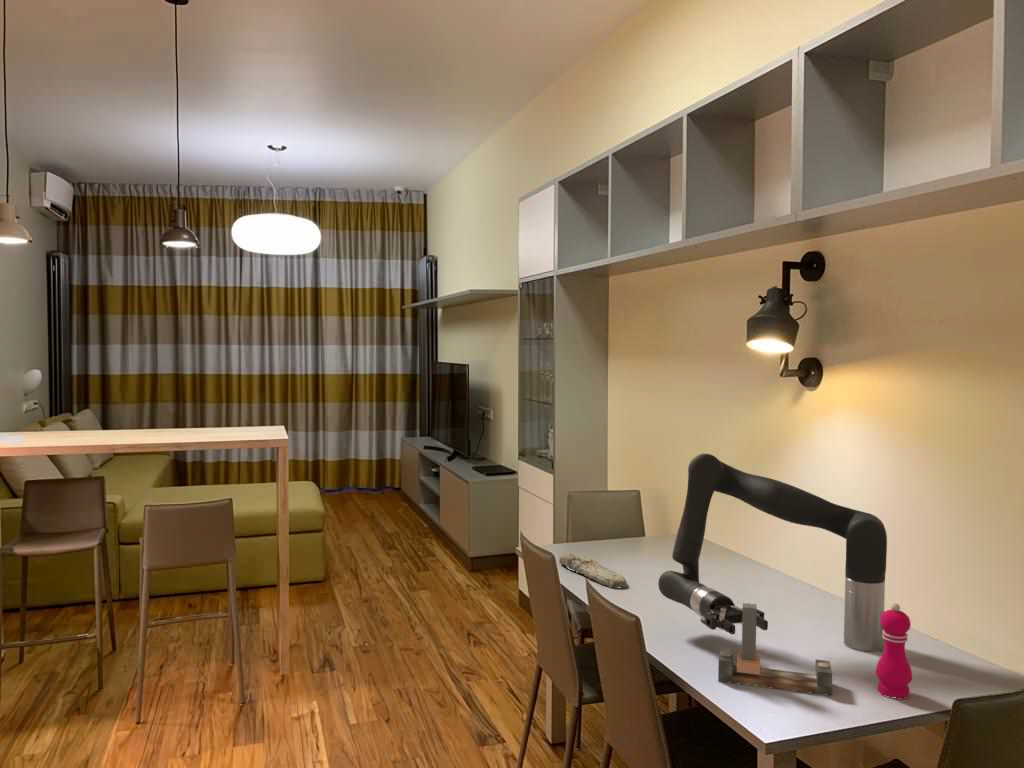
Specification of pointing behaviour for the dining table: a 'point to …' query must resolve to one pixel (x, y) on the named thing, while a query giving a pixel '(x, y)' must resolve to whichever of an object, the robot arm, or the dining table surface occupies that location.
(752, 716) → the dining table surface
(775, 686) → the rail
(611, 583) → the long grey stone
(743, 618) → the carriage
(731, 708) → the dining table surface
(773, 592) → the dining table surface
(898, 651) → the pepper mill
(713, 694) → the dining table surface
